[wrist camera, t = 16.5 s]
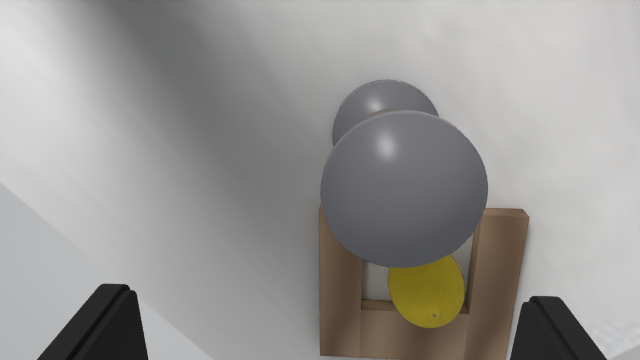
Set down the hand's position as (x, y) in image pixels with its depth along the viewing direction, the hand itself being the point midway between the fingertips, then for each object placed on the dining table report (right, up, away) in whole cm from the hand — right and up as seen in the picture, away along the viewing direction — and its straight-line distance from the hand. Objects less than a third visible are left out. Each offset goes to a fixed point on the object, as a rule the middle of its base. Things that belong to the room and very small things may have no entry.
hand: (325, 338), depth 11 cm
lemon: (+8, -3, +26) cm, 28 cm away
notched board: (+8, -5, +27) cm, 29 cm away
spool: (+5, +7, +23) cm, 24 cm away
